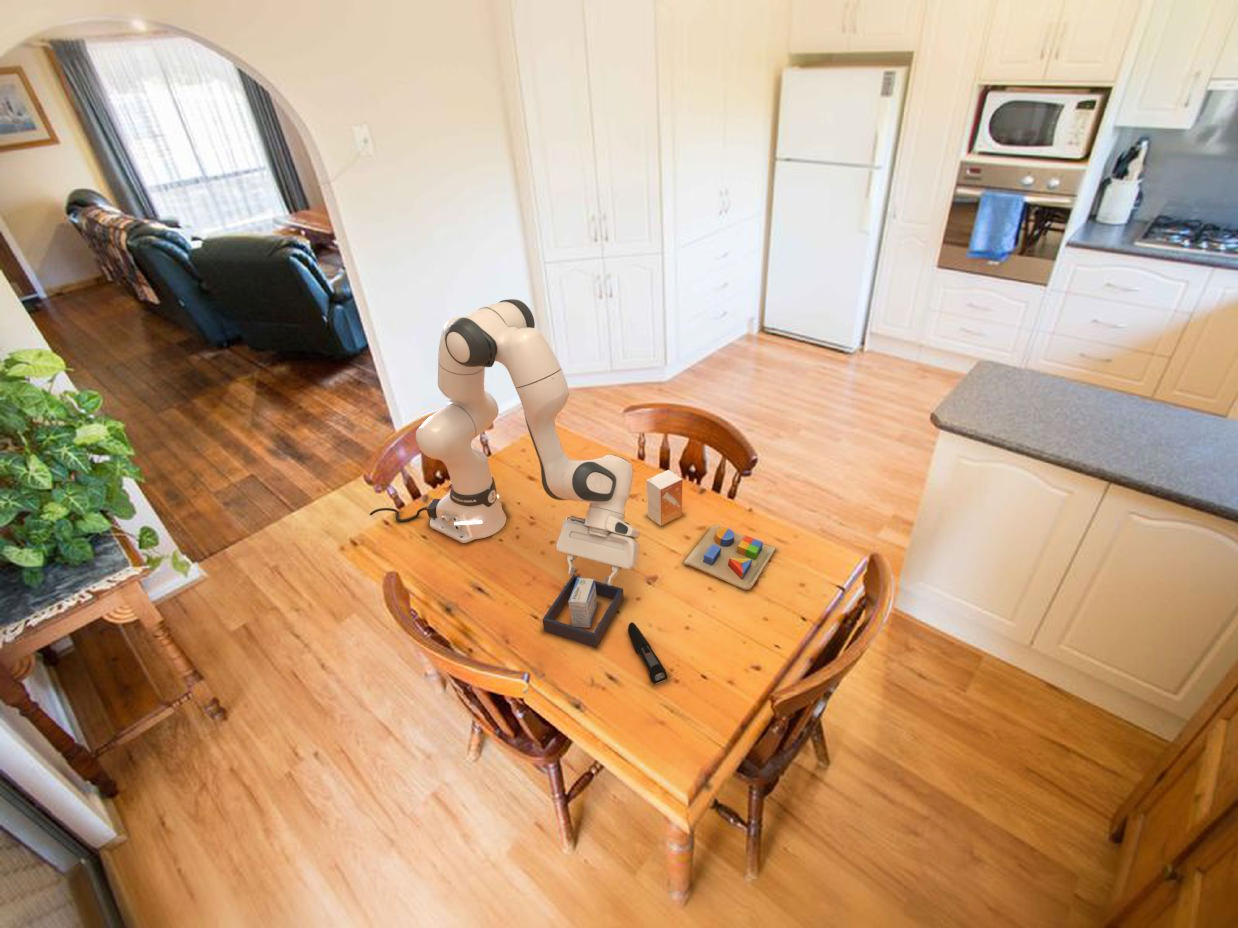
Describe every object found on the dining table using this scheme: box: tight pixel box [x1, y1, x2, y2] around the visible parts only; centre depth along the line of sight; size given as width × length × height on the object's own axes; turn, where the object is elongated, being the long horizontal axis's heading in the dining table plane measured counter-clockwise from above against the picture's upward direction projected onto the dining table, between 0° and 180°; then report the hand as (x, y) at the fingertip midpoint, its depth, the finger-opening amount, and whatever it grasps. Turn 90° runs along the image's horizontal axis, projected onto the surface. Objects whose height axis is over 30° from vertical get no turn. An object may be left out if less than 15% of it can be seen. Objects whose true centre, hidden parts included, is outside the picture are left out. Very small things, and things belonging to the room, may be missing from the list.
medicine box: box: [568, 577, 598, 629], centre depth 143 cm, size 8×4×9 cm, turn 168°
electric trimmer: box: [627, 622, 668, 685], centre depth 134 cm, size 4×16×3 cm, turn 22°
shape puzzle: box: [683, 524, 776, 591], centre depth 158 cm, size 18×19×4 cm
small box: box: [646, 469, 683, 527], centre depth 172 cm, size 8×6×13 cm
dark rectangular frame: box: [541, 575, 625, 648], centre depth 145 cm, size 14×16×4 cm
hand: (589, 579), depth 144 cm, fingers open, 8 cm apart
